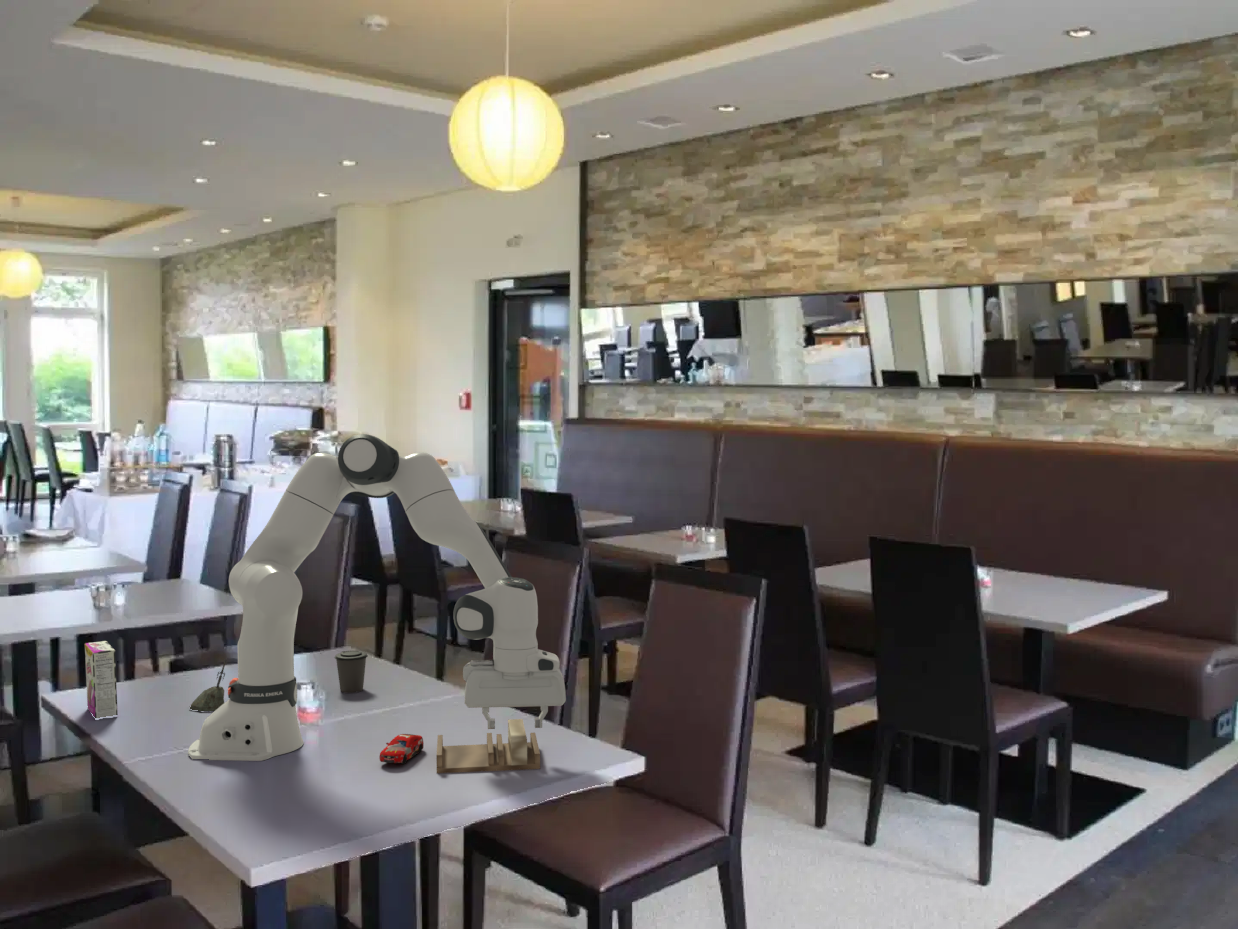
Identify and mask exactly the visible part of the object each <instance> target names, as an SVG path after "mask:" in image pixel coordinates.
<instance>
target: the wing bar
mask: <svg viewBox="0 0 1238 929" xmlns="http://www.w3.org/2000/svg"><path fill="white" fill-rule="evenodd" d="M527 737H528V736H527V734H526V728H525V724H524V719H523V718H516V719H514V718H512V719H508V720H507V743H508V745H509V751H510V757H511V764H512V765H527V742H528V738H527Z"/></svg>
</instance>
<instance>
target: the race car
mask: <svg viewBox="0 0 1238 929" xmlns="http://www.w3.org/2000/svg"><path fill="white" fill-rule="evenodd" d="M385 744H386V745H387V746H385V747H384V748H383V750H381V751H380V752H379V761H380V763H385V764H386V763H387V764H401V765H405V764H406V763H407V761H408V760H411V758H413V757H414V756H416V755H417V754H421V753H422V750H424V738H423V736H422V735H419V734H412V733H400V734H398V735H396V736H395V737H394V738H392V739H391V740H390V742H385Z"/></svg>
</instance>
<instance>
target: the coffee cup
mask: <svg viewBox="0 0 1238 929" xmlns="http://www.w3.org/2000/svg"><path fill="white" fill-rule="evenodd" d="M368 657H369V655H368V653H366V651H360V650H346V651H344V650H343V651H341V652H340V653H337V654H335V656H334V659H335V660H336V661H335V662H336V668H337V674H338V675H337V676H338V683H339V690H340V692H341V693H346V694H353V693H359V692H362V691H363V690H364V683H365V675H366V674H365V672H366V663H367V658H368Z"/></svg>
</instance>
